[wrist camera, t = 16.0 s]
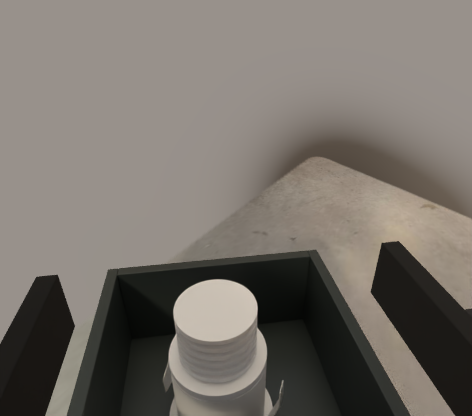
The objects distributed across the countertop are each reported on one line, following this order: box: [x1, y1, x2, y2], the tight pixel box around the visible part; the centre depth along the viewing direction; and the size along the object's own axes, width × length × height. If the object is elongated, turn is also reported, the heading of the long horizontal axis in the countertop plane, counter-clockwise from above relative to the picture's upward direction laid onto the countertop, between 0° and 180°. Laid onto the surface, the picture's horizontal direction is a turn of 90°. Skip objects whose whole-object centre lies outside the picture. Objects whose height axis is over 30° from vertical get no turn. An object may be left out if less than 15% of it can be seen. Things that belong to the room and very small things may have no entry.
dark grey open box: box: [67, 250, 410, 416], centre depth 23 cm, size 17×17×8 cm
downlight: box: [163, 279, 283, 416], centre depth 22 cm, size 8×7×10 cm
